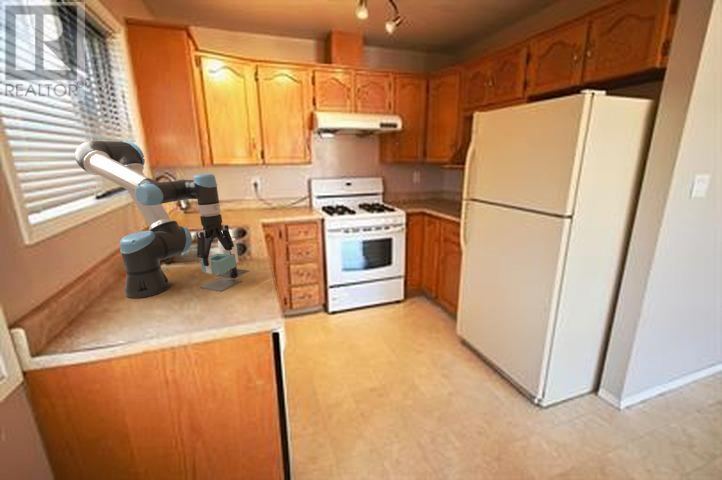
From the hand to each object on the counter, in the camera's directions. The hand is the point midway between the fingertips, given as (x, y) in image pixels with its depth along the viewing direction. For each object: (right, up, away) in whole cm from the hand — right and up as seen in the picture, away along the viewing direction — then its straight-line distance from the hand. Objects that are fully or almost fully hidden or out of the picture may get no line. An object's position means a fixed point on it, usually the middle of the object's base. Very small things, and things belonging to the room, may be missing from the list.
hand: (219, 268), depth 131 cm
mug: (-7, 0, +28) cm, 29 cm away
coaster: (0, -7, +2) cm, 7 cm away
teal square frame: (0, 0, 0) cm, 0 cm away
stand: (0, -4, +15) cm, 15 cm away
